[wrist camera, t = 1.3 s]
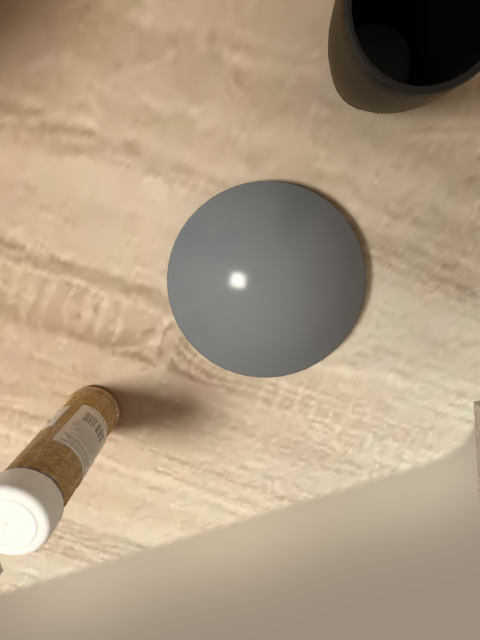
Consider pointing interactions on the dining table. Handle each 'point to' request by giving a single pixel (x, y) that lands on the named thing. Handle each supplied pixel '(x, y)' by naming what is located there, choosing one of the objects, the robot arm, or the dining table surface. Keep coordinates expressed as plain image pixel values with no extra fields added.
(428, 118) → the dining table surface
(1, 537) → the sprinkles bottle
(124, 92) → the dining table surface
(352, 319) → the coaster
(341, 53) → the mug
